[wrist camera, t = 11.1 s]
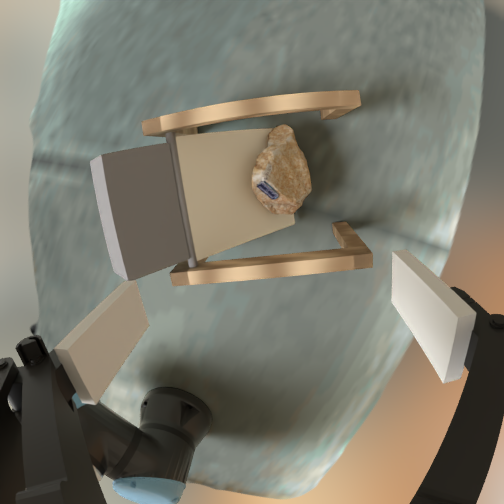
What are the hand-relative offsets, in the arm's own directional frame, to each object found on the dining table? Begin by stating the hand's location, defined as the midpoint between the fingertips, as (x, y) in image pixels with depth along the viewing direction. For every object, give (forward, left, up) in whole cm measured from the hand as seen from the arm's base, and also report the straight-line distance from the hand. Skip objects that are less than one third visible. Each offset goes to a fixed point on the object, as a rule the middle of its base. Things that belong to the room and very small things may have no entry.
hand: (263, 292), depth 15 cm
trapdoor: (-9, +3, -23) cm, 25 cm away
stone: (0, +4, -26) cm, 26 cm away
